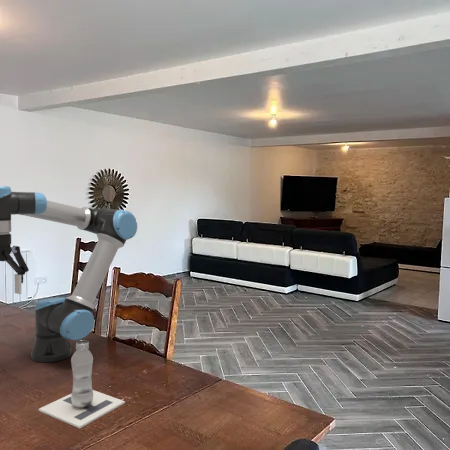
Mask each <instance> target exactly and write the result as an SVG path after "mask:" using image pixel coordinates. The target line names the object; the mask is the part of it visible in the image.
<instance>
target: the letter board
mask: <svg viewBox="0 0 450 450" xmlns="http://www.w3.org/2000/svg"><path fill="white" fill-rule="evenodd" d="M71 395H72V393H70V394H67V395H65V396H63V397H61V398H59V399H57V400H55V401H53V402H49V403H48V404H46V405H43V406H42V407H40V408H38V412H40V413H43V414H45V415H47V416H50V417H52V418H54V419H55V420H59V421H61V422H63V423H66V424H68V425H71V426H73V427H75V428H78V429H79V430H81V428H83V427H85V426H87V425H89V424H91V423H93V422H94V421H96V420H98V419H99V418H101V417H103V416H105V415H106V414H108V413H110V412H112V411H113V410H115V409H117V408H119V407H121V406H122V405H124V404H126V402H125V401H124V400H122V399H120V398H117V397H114V396H111V395H108V394H107V393H106V394H105V393H103V392H100V391H97V390H95V389H93V395H94V397H93V402H92V403H91V405H89V406H87V407H83V408H78V407H75V406H74V405H73V404H72V401H71Z"/></svg>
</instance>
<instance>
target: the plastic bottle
mask: <svg viewBox="0 0 450 450" xmlns="http://www.w3.org/2000/svg"><path fill="white" fill-rule="evenodd" d="M75 343H76V344H75V351H74V352H73V353H72V356H71V359H70V363H71V370H72V371H71V372H72V391H71V394H72V395H71V401H72V404H73V405H74V406H75V407H78V408H83V407H87V406H89V405H91V403H92V402H93V397H94V395H93V390H94V389H93V384H92V371H93V363H94V357H93V353H92V352H91V351H90V350H89V349H90V346H89V345H90V342H89V340H85V339H83V340H82V339H79V340H76V342H75Z"/></svg>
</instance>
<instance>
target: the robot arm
mask: <svg viewBox="0 0 450 450" xmlns="http://www.w3.org/2000/svg"><path fill="white" fill-rule="evenodd" d="M12 215H20V216H25V217H30V218H35V219H41V220H45V221H50V222H54V223H59V224H65V225H69V226H74V227H77V229H78V230H81V231H86V232H89V233H93V234H94V235H95V234H96V236H97V239H98V240H97V243H95V244H96V245H95V246H94V248H93V251H92V252H91V255H90V257H89V259H88V260H87V262H86V265H85V267H84V269H83V271H82V273H81V274H80V278H79V279H78V281H77V284H76V285H75V287H74V290H73V292H72V294H71V295H69V296H67V297H63V296H62V297H61V296H59V297H49V298H44V299H40V300H37V302H36V303H35V308H34V311H35V317H34V318H35V338H34V342H33V346H32V349H31V350H30V359H31V360H32V361H35V362H38V363H53V362H54V363H55V362H60V361H62V360H64V359H65V360H66V359H68V358H69V357H71V355H72V346H71V343H70V341H69V340H71V341H80V340H82V339H84V338H85V337H87V336H88V335H90V333H91V331H92V330H93V328H94V325H95V319H94V318H95V316H94V315H93V313H94V311H95V307H94V304H93V303H94V301H95V300H96V297H97V295H98V293H99V291H100V289H101V287H102V284H103V283H104V280H105V278H106V276H107V273H108V271H109V269H110V267H111V265H112V263H113V261H114V260H115V259H114V258H115V256H116V255H117V252H118V250H119V249H121V248H122V247H124V246H125V244H126V243H127V242H126V241H127V240H131V239H133V237H135V236H136V234H137V231H138V222H137V217H135V215H134V214H133V213H132V212H131V211H129V210H125V209H113V208H112V209H111V208H93V207H91V208H90V207H87V206H83V207H77V206H73V205H68V204H64V203H60V202H55V201H52V200H48V199H47V198H46V195H45V194H44V193H43V192H35V191H29V192H28V191H26V192H25V191H12V189H11V187H10V186H7V185H0V262H6V263H7V264H8V265H9V266H10V267H11V269H12V270H13V271H14V272H15V274H14V277H13V278H14V294H17V295H21V294H22V284H23V283H24V276H25V274H26V273H28V272H29V267H28V265H27V263H26V261H25V259H24V257H23V255H22V253H21V247H20V246H17V245H13V246H11V244H12V234H11V233H12ZM11 253H12V254H13V256H14V258H15V260H16V261H15V260H14V258H13V257H12V255H11Z"/></svg>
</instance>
